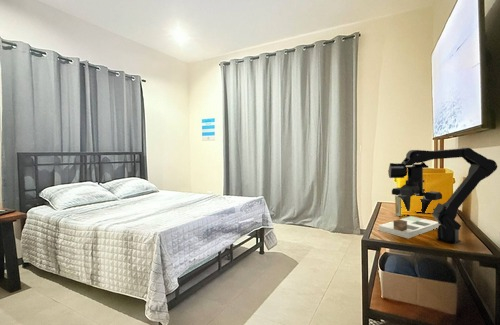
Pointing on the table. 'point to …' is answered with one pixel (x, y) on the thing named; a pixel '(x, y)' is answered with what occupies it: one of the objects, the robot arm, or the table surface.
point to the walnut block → (400, 225)
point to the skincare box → (398, 205)
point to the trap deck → (410, 227)
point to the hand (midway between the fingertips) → (415, 212)
